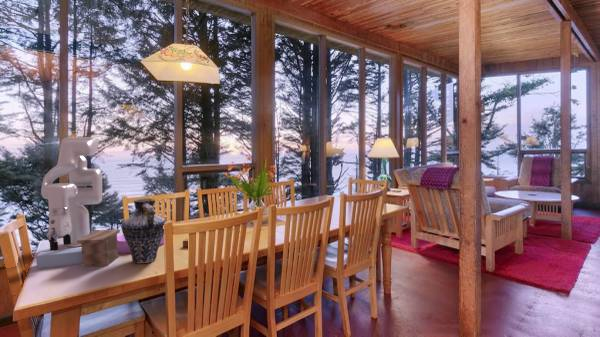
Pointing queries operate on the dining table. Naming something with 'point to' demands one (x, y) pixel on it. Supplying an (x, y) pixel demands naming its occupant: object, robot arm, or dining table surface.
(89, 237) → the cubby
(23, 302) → the dining table surface
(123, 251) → the pink rectangular box
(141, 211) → the jug
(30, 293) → the dining table surface
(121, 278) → the dining table surface
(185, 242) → the carton
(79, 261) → the block
